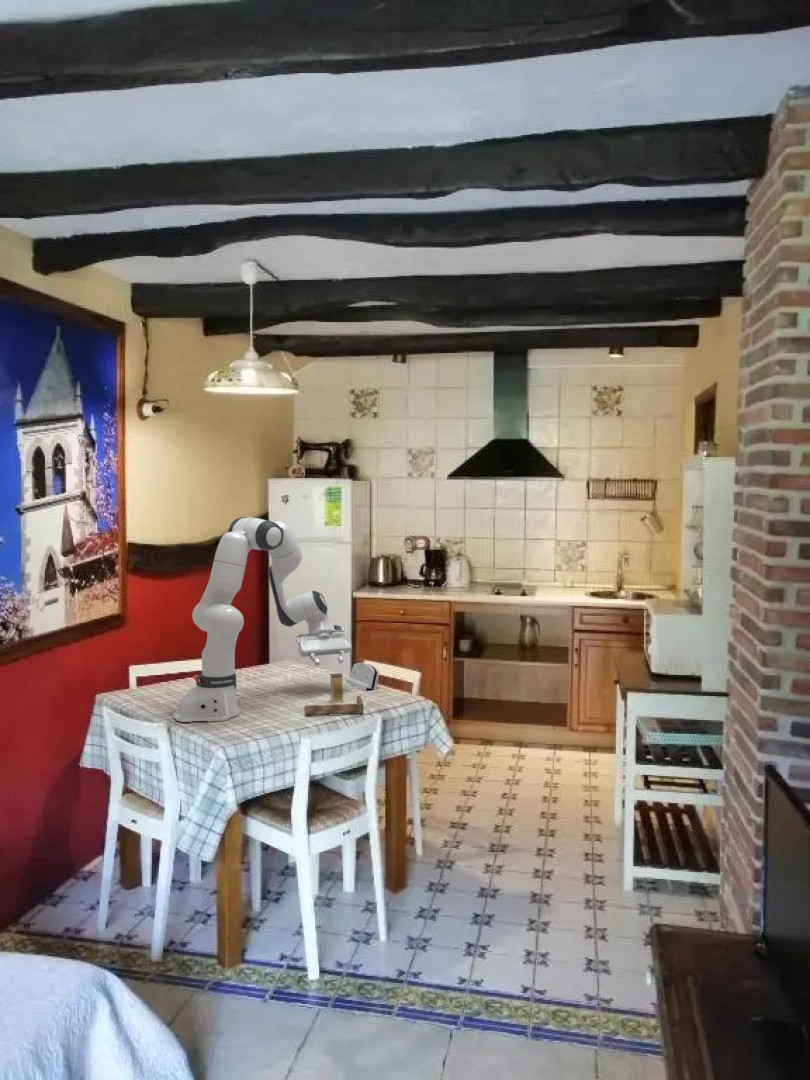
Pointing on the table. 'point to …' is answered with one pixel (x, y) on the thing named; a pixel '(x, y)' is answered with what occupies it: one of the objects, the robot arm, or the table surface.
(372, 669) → the hinge
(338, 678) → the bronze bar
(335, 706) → the corner tray
